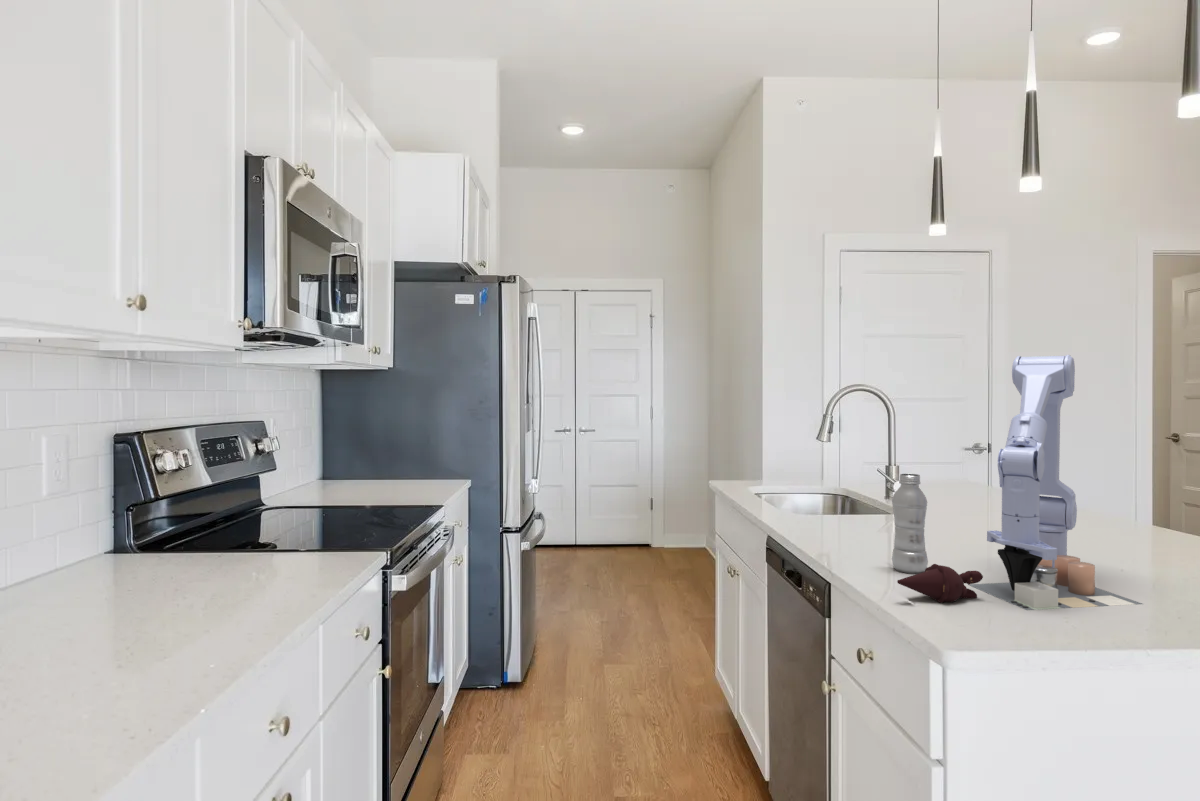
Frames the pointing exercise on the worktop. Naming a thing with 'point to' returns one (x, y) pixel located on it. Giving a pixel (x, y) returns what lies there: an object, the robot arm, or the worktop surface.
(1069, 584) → the tan rounded cylinder
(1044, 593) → the white block
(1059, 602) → the board
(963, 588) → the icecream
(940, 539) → the worktop surface
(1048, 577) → the tin
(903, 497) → the plastic bottle
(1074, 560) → the tan rounded block
